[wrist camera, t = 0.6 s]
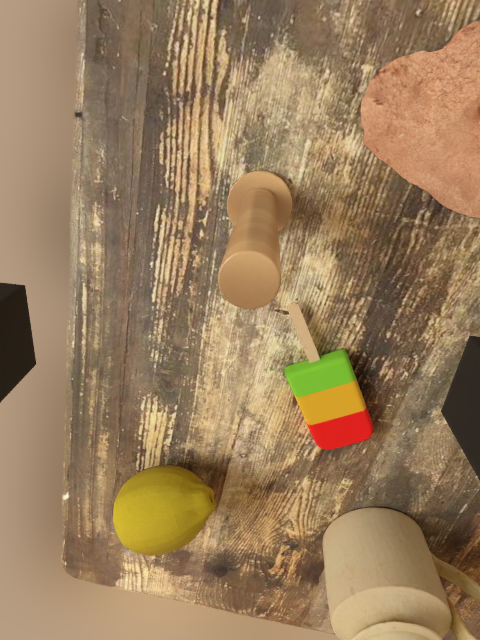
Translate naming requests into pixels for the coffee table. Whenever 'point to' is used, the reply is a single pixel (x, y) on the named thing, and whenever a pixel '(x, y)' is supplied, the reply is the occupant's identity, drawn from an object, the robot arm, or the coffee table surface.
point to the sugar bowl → (389, 580)
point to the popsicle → (327, 392)
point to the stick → (254, 239)
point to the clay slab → (431, 120)
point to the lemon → (161, 509)
